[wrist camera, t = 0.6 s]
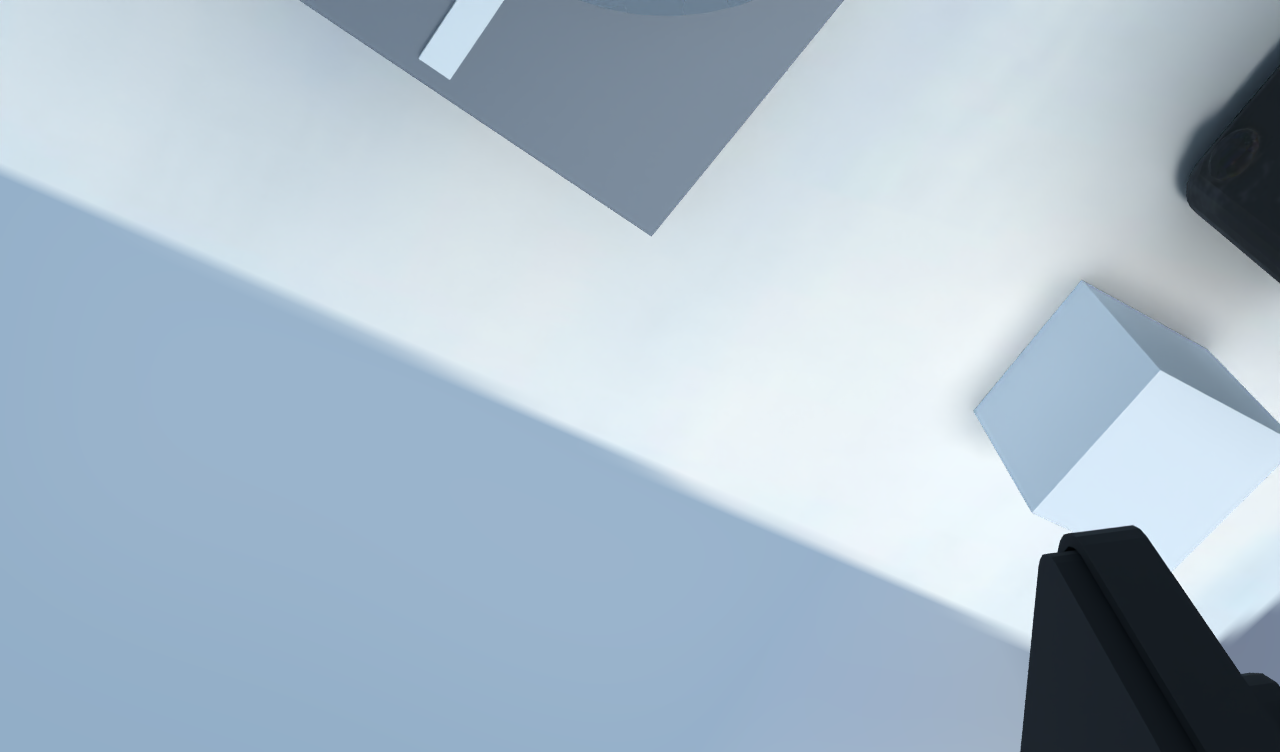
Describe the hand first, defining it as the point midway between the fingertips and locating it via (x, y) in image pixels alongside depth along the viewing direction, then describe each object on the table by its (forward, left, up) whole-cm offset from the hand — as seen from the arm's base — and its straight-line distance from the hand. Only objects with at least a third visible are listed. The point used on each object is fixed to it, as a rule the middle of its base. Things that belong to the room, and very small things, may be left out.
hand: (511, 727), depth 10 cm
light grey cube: (0, +24, -27) cm, 36 cm away
